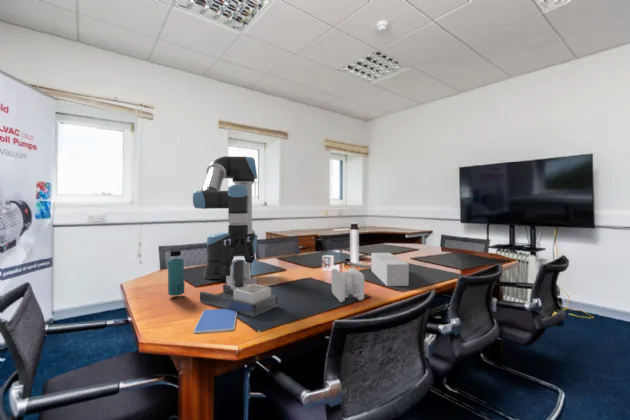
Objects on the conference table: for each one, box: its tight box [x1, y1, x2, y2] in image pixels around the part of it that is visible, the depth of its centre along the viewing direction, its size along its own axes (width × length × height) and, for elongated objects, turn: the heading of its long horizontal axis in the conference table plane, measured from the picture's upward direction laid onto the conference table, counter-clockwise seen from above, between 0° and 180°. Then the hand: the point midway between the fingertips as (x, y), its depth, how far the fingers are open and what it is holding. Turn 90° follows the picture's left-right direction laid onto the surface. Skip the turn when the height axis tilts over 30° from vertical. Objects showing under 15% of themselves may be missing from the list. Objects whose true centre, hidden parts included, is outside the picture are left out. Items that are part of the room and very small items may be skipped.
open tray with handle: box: [229, 259, 272, 304], centre depth 118 cm, size 10×14×16 cm
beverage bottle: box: [167, 249, 186, 297], centre depth 130 cm, size 6×7×20 cm
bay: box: [199, 284, 279, 318], centre depth 121 cm, size 13×30×4 cm, turn 57°
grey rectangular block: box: [370, 252, 410, 287], centre depth 162 cm, size 32×11×11 cm, turn 3°
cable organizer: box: [331, 267, 365, 303], centre depth 129 cm, size 15×11×12 cm
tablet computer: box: [192, 308, 238, 334], centre depth 105 cm, size 19×13×1 cm, turn 11°
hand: (238, 280), depth 120 cm, fingers open, 9 cm apart
